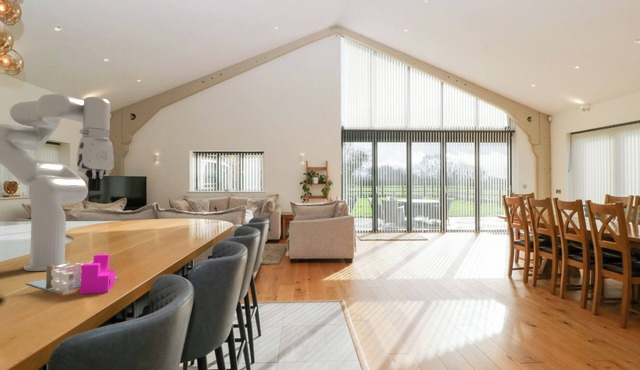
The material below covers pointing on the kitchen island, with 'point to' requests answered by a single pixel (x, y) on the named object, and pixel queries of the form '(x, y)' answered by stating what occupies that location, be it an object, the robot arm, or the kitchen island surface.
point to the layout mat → (42, 285)
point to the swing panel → (76, 268)
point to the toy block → (97, 275)
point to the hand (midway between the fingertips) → (94, 190)
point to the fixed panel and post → (59, 279)
